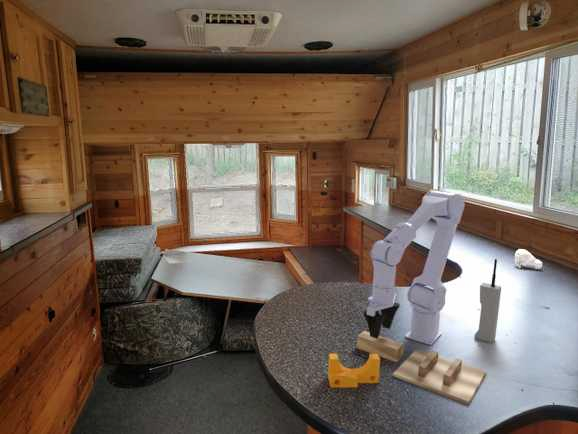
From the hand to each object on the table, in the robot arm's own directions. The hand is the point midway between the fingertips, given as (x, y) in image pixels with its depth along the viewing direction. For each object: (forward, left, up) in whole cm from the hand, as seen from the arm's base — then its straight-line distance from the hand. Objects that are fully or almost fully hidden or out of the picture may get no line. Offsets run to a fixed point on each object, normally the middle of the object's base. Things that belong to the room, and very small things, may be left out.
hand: (380, 332), depth 115 cm
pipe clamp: (+17, +2, -6) cm, 19 cm away
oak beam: (0, 0, -6) cm, 6 cm away
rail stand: (+1, +17, -6) cm, 18 cm away
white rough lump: (-121, +19, -6) cm, 123 cm away
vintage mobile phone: (-28, +21, -6) cm, 36 cm away
